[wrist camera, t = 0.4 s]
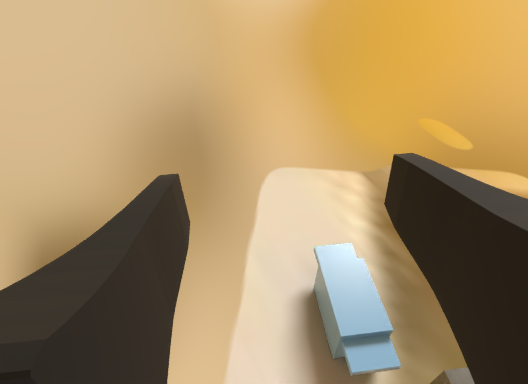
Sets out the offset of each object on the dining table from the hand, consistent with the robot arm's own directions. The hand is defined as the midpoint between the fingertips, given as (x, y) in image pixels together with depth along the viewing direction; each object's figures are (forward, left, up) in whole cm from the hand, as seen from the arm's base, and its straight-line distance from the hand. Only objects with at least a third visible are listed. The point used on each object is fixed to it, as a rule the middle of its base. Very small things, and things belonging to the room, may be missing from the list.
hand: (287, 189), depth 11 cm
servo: (+5, -7, -21) cm, 22 cm away
